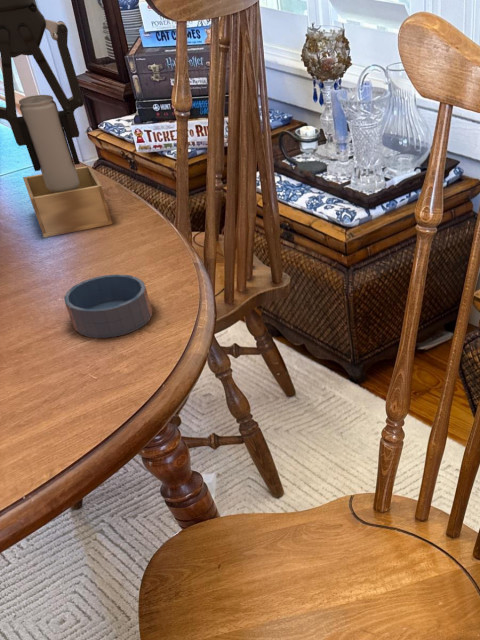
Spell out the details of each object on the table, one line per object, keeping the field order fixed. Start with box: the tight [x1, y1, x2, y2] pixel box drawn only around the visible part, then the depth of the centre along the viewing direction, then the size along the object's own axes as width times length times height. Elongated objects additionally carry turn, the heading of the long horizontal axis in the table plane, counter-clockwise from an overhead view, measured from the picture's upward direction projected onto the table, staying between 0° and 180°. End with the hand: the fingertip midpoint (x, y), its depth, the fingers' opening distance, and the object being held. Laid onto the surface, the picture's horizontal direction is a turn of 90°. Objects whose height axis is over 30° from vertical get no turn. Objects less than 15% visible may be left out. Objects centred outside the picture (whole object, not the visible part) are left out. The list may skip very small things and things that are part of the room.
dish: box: [63, 274, 153, 339], centre depth 94 cm, size 9×9×4 cm
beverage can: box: [18, 94, 80, 193], centre depth 112 cm, size 5×5×12 cm
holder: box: [22, 165, 113, 238], centre depth 117 cm, size 10×10×6 cm
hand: (56, 164), depth 114 cm, fingers closed on beverage can, 5 cm apart
